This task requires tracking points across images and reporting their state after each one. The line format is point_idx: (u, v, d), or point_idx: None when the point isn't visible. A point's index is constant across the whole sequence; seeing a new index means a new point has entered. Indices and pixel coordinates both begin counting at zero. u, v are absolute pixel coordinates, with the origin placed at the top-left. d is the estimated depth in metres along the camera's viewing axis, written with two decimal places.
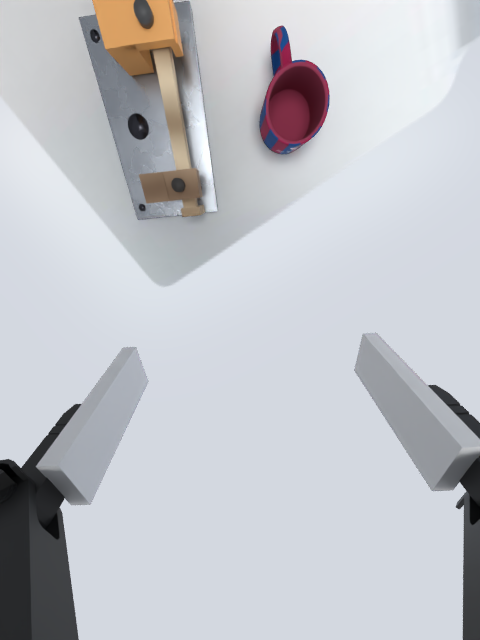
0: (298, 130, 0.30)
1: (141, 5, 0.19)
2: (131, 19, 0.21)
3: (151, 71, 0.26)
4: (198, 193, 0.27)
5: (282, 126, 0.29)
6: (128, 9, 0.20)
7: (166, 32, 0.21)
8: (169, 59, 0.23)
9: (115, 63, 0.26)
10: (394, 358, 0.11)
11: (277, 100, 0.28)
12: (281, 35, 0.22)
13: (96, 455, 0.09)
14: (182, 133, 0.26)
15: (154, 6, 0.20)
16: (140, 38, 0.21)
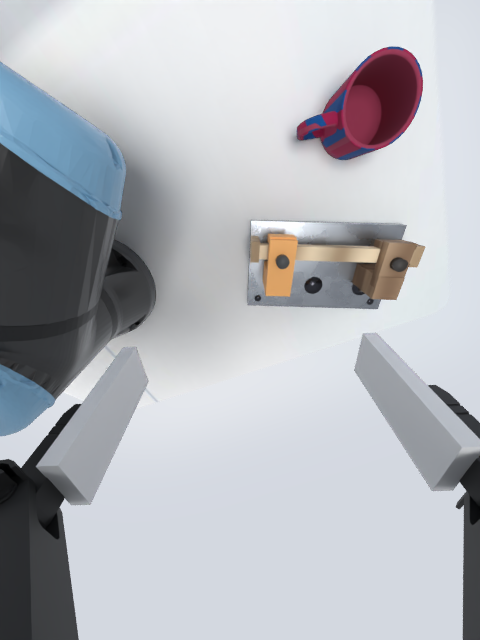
0: (366, 103, 0.24)
1: (280, 262, 0.25)
2: (280, 272, 0.27)
3: None
4: (412, 244, 0.25)
5: (355, 127, 0.25)
6: (275, 272, 0.27)
7: (293, 246, 0.25)
8: (300, 247, 0.27)
9: None
10: (394, 358, 0.11)
11: None
12: (314, 124, 0.21)
13: (96, 455, 0.09)
14: (350, 249, 0.27)
15: (277, 252, 0.26)
16: (291, 268, 0.26)
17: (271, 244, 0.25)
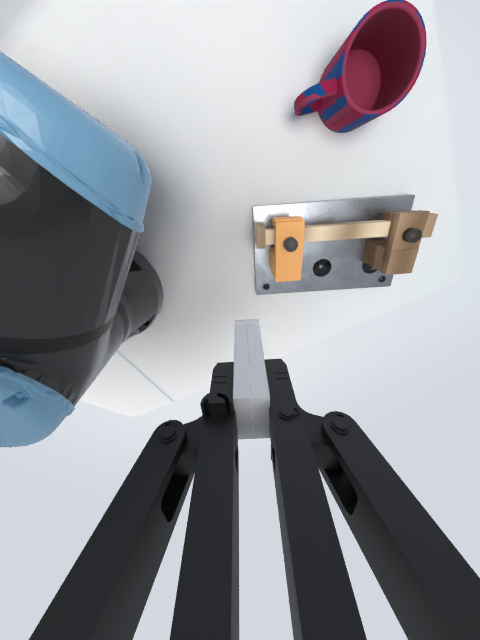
0: (364, 68, 0.23)
1: (289, 245, 0.24)
2: (289, 255, 0.26)
3: None
4: (425, 212, 0.24)
5: (354, 96, 0.24)
6: (284, 256, 0.26)
7: (300, 227, 0.24)
8: (307, 228, 0.26)
9: None
10: (255, 338, 0.13)
11: None
12: (313, 95, 0.20)
13: None
14: (359, 224, 0.26)
15: (284, 234, 0.25)
16: (300, 250, 0.26)
17: (277, 227, 0.24)
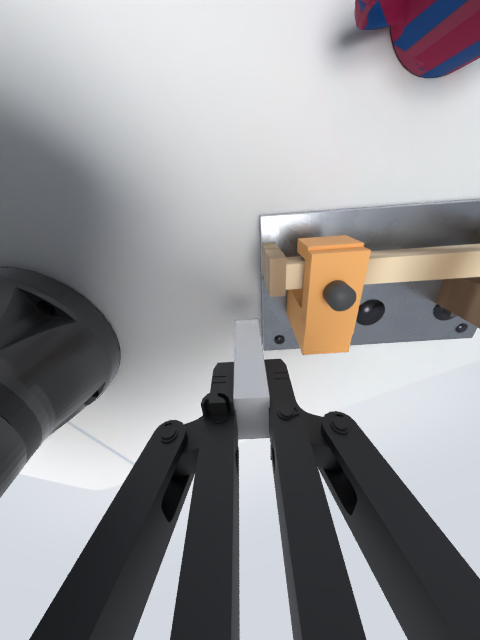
0: None
1: (338, 299, 0.12)
2: (332, 312, 0.13)
3: None
4: None
5: None
6: (322, 314, 0.13)
7: (360, 262, 0.12)
8: None
9: None
10: (255, 338, 0.13)
11: None
12: None
13: None
14: (467, 253, 0.13)
15: (327, 276, 0.12)
16: (354, 304, 0.13)
17: (314, 263, 0.12)
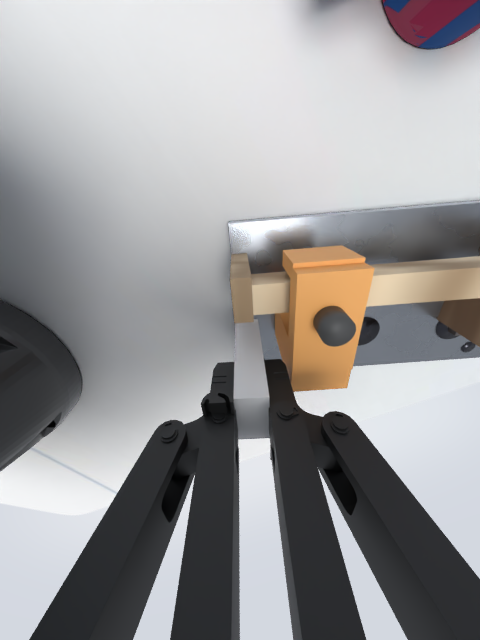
0: None
1: (332, 332, 0.09)
2: (325, 344, 0.11)
3: None
4: None
5: None
6: (313, 346, 0.11)
7: (360, 283, 0.09)
8: None
9: None
10: (255, 338, 0.13)
11: None
12: None
13: None
14: (479, 269, 0.11)
15: (318, 301, 0.10)
16: (353, 334, 0.10)
17: (301, 285, 0.09)
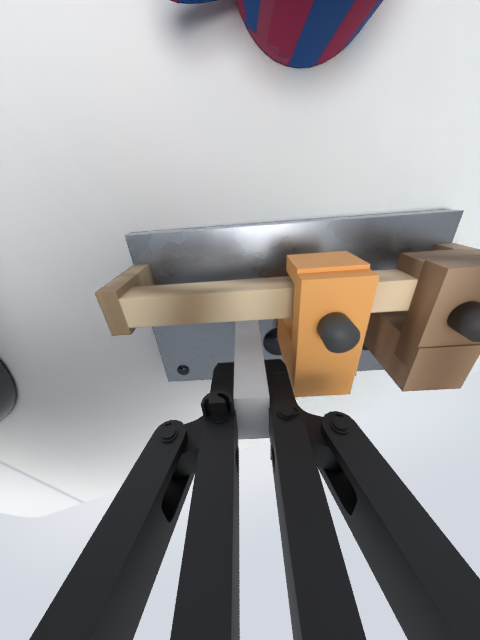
0: None
1: (336, 339, 0.09)
2: (329, 350, 0.11)
3: None
4: None
5: None
6: (316, 352, 0.11)
7: (365, 290, 0.09)
8: (217, 295, 0.11)
9: (207, 354, 0.18)
10: (255, 338, 0.13)
11: None
12: None
13: None
14: None
15: (322, 307, 0.10)
16: None
17: (305, 291, 0.09)
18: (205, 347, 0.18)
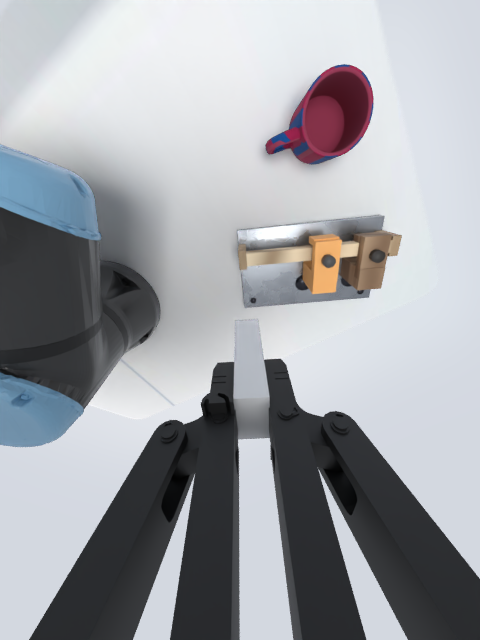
0: (328, 110, 0.26)
1: (327, 262, 0.27)
2: (326, 270, 0.28)
3: None
4: (387, 236, 0.27)
5: (322, 134, 0.27)
6: (321, 271, 0.29)
7: (337, 245, 0.27)
8: (283, 251, 0.29)
9: (266, 290, 0.36)
10: (255, 338, 0.13)
11: None
12: (279, 141, 0.23)
13: None
14: None
15: (323, 252, 0.27)
16: (336, 266, 0.28)
17: (317, 246, 0.27)
18: (266, 286, 0.36)
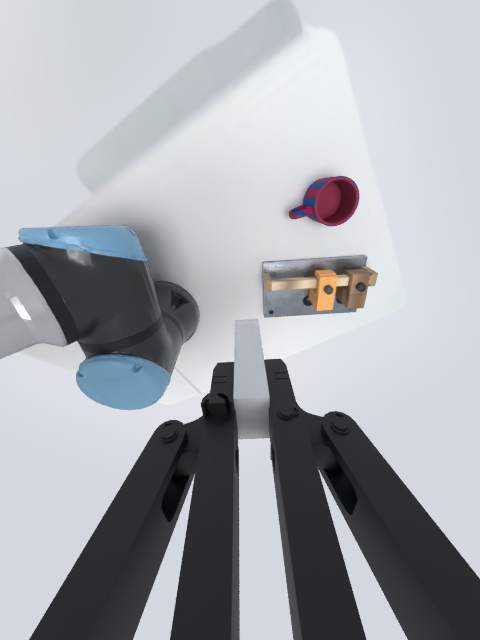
0: (330, 189, 0.39)
1: (328, 290, 0.40)
2: (326, 295, 0.41)
3: None
4: (368, 274, 0.40)
5: (325, 203, 0.40)
6: (323, 296, 0.41)
7: (334, 279, 0.40)
8: (297, 281, 0.42)
9: (281, 305, 0.49)
10: (255, 338, 0.13)
11: None
12: (299, 215, 0.36)
13: None
14: None
15: (324, 283, 0.40)
16: (333, 292, 0.41)
17: (321, 279, 0.40)
18: (281, 302, 0.49)
